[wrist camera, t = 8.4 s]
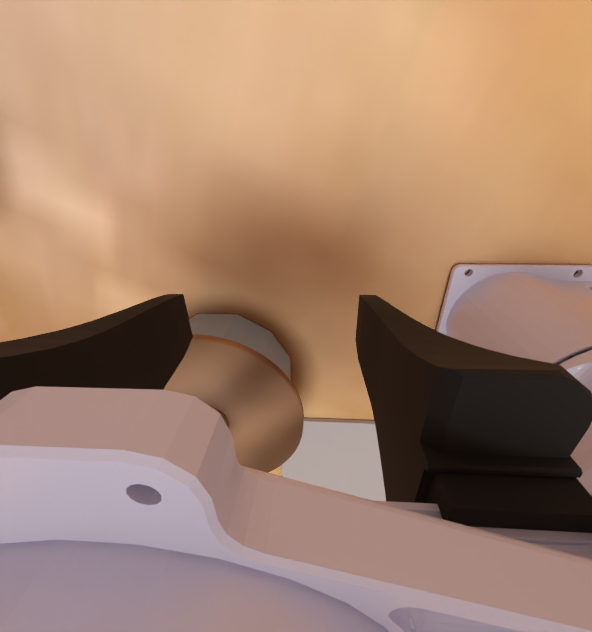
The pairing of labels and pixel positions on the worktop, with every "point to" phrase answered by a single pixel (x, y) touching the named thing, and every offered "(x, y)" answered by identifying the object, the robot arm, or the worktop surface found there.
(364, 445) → the mat
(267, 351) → the bowl
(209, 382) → the lid
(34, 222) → the worktop surface
